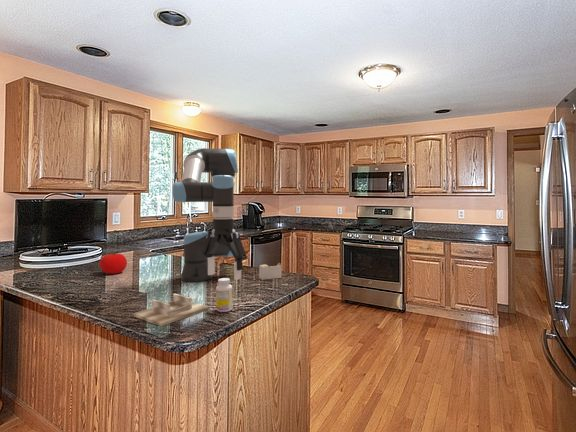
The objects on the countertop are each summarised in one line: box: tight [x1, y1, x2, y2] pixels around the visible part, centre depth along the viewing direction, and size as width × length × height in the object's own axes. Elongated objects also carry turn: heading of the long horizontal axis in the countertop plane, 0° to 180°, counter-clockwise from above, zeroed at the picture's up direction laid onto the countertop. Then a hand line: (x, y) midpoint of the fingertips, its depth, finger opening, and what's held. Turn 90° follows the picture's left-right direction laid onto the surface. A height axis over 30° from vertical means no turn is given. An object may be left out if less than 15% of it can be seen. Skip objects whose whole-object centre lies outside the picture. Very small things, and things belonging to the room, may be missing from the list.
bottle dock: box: [132, 293, 210, 327], centre depth 121 cm, size 16×20×5 cm
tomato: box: [99, 252, 128, 275], centre depth 183 cm, size 12×13×11 cm
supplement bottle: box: [215, 277, 234, 313], centre depth 124 cm, size 6×6×11 cm
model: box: [258, 262, 282, 281], centre depth 171 cm, size 3×11×8 cm, turn 114°
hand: (224, 276), depth 123 cm, fingers open, 13 cm apart
